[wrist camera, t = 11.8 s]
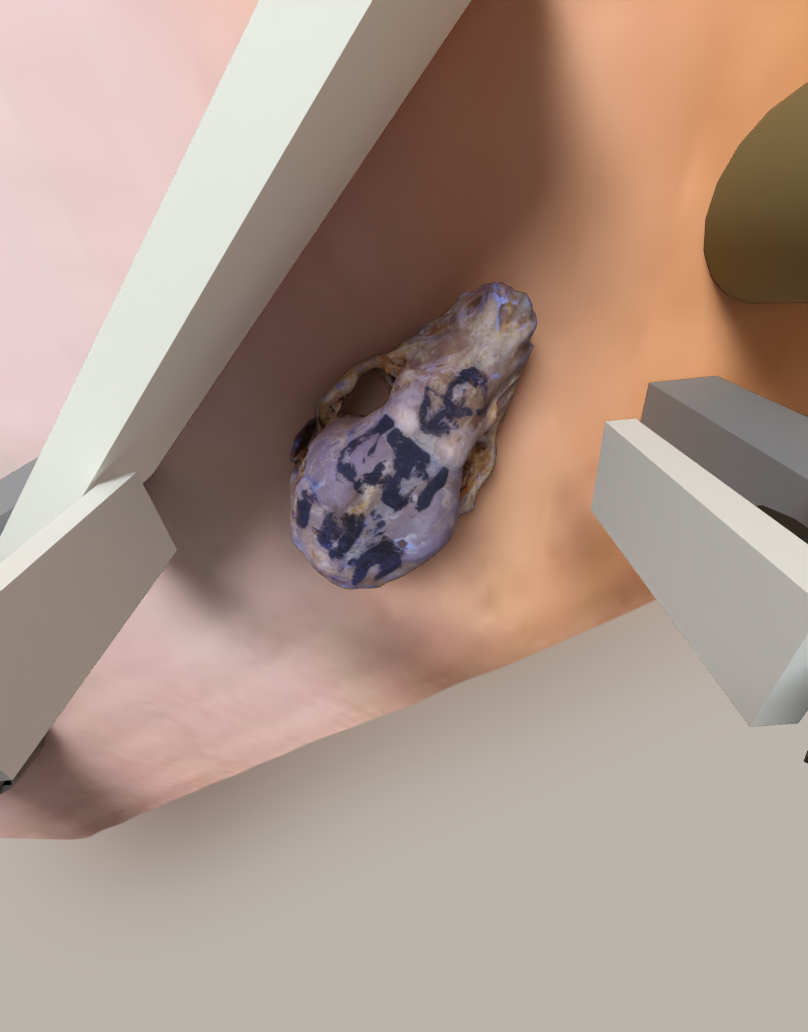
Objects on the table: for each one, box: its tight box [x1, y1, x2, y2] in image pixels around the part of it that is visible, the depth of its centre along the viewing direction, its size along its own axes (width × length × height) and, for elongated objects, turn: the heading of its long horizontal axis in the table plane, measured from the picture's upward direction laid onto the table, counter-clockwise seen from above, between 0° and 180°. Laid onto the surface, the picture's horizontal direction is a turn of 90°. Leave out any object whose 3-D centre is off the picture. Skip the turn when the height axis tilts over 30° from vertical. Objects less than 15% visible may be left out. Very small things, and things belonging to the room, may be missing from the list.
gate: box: [0, 0, 471, 563], centre depth 12 cm, size 22×2×8 cm, turn 137°
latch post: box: [641, 376, 808, 528], centre depth 13 cm, size 3×4×10 cm
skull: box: [289, 282, 537, 589], centre depth 15 cm, size 12×8×6 cm, turn 137°
